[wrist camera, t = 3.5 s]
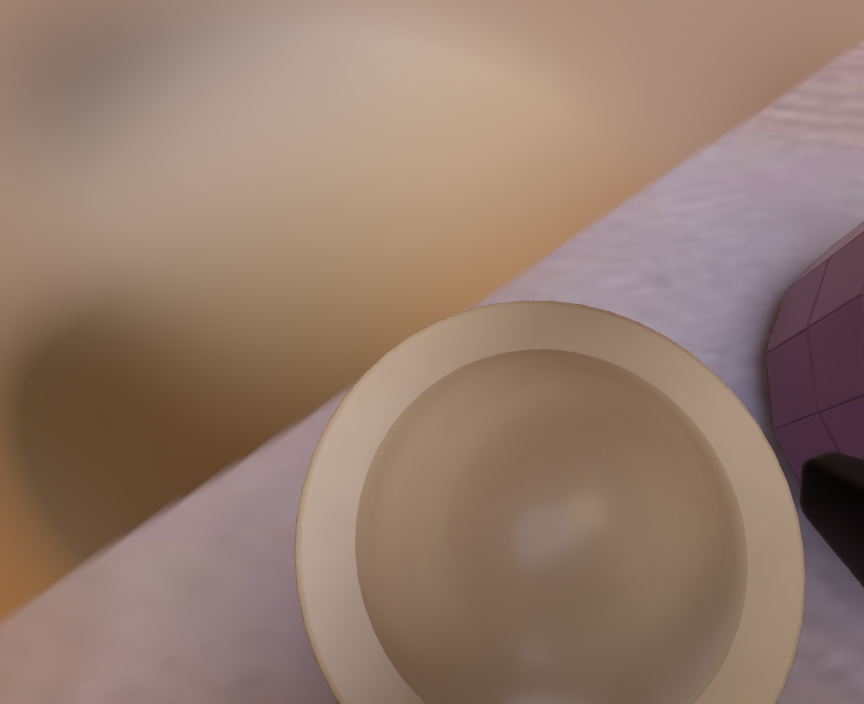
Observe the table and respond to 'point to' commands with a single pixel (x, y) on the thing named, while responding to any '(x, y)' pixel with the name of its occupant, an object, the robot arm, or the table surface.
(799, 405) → the bowl
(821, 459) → the robot arm
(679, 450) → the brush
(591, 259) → the table surface
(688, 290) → the table surface
